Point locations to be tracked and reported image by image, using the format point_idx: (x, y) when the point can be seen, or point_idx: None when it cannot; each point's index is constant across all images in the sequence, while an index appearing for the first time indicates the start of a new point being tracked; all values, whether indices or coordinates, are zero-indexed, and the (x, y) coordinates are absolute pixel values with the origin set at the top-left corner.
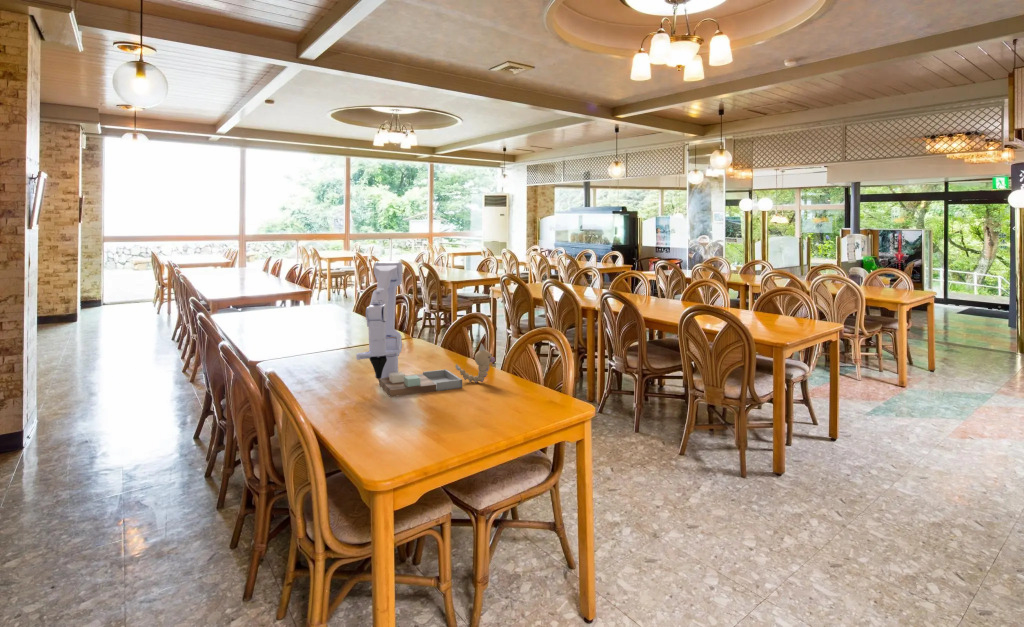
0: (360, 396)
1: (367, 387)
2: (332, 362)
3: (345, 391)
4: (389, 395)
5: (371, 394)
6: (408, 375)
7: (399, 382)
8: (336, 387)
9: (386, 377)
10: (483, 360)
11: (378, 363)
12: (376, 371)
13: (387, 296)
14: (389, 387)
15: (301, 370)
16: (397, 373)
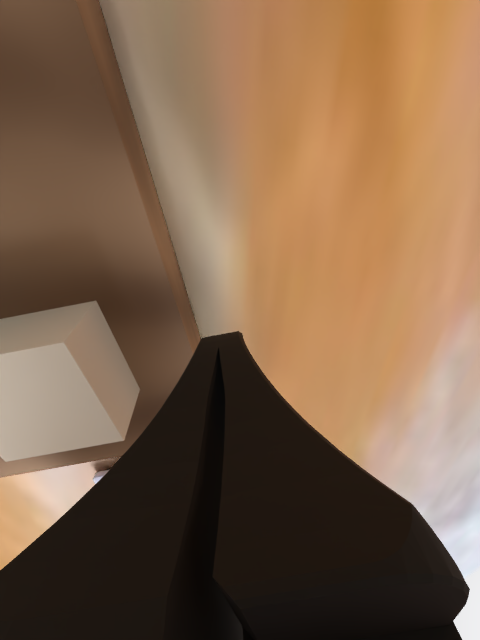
0: (393, 135)
1: (293, 366)
2: None
3: (443, 311)
4: (117, 64)
5: (291, 179)
6: (13, 466)
7: (28, 309)
8: (454, 394)
9: None
10: None
11: (234, 491)
12: (259, 372)
13: None
14: (97, 119)
15: (468, 567)
16: (28, 418)
